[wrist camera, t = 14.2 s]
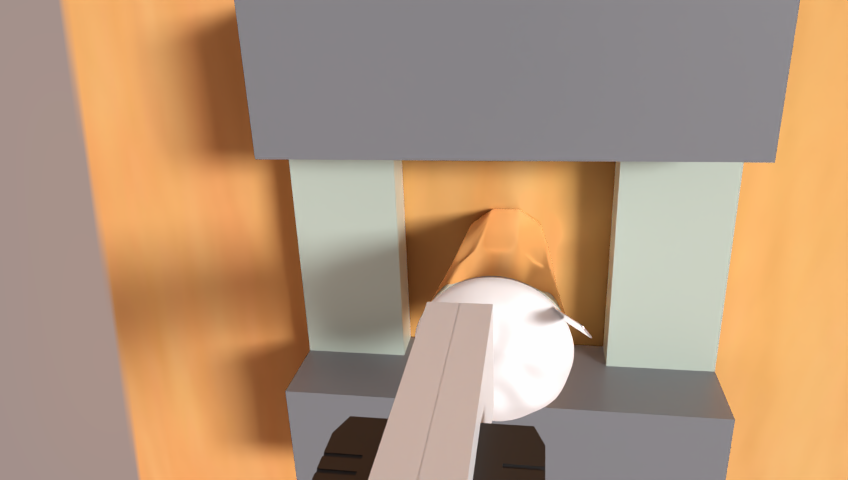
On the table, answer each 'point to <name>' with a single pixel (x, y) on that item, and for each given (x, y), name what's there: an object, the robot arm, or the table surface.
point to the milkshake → (515, 309)
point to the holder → (524, 141)
